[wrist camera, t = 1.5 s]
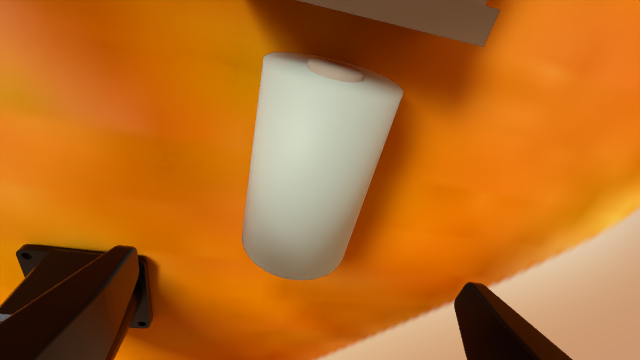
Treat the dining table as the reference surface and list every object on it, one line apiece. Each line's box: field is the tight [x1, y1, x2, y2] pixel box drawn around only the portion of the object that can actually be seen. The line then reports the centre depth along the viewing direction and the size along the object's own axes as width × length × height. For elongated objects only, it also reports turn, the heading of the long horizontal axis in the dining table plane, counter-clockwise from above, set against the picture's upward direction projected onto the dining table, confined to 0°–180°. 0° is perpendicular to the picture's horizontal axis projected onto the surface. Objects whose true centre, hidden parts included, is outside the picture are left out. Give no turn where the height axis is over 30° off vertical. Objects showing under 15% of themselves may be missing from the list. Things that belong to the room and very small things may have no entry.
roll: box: [242, 52, 403, 280], centre depth 13 cm, size 8×5×5 cm, turn 167°
